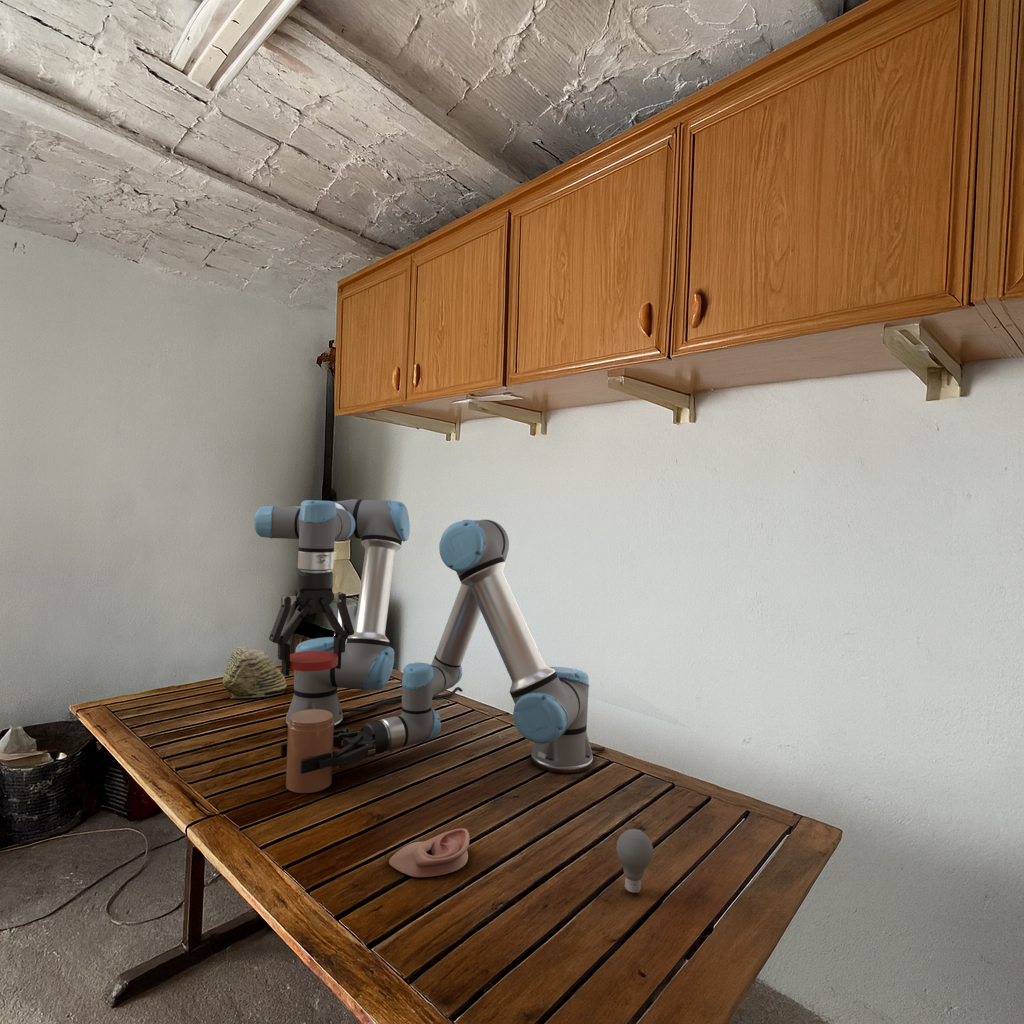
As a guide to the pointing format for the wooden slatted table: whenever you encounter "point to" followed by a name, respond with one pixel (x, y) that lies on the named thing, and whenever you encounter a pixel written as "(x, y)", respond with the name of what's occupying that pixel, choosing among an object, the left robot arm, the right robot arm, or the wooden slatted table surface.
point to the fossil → (252, 674)
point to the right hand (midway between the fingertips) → (291, 758)
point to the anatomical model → (433, 855)
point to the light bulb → (634, 857)
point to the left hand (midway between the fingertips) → (311, 670)
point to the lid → (313, 660)
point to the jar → (309, 749)
